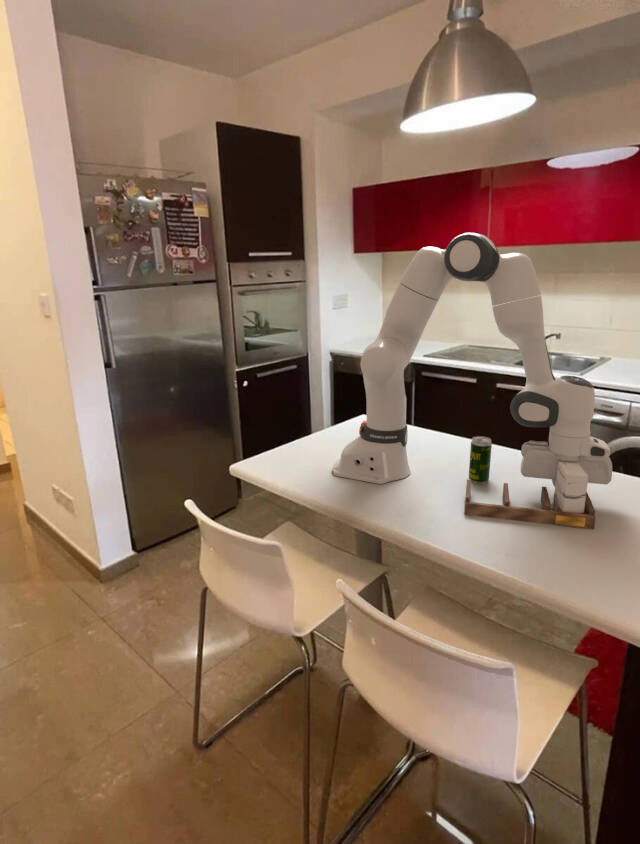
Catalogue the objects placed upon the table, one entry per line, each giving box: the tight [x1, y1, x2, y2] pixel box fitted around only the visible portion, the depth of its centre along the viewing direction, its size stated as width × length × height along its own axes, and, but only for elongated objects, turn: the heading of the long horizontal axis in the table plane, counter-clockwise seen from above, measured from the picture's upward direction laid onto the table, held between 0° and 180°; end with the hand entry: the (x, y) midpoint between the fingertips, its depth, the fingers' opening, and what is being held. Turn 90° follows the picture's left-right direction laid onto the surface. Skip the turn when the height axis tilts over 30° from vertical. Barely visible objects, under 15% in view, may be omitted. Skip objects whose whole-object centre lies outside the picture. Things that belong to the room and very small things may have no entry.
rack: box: [463, 478, 596, 530], centre depth 123 cm, size 28×12×4 cm, turn 73°
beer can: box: [468, 436, 493, 485], centre depth 139 cm, size 5×5×12 cm
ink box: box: [552, 462, 588, 514], centre depth 120 cm, size 9×5×12 cm, turn 168°
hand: (561, 495), depth 127 cm, fingers closed
